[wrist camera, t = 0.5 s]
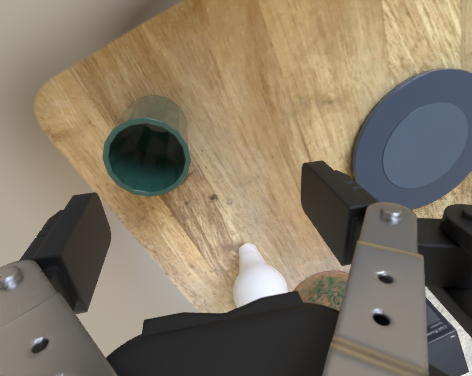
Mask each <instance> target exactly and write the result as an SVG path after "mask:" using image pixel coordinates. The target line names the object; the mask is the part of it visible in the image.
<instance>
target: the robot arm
mask: <svg viewBox="0 0 472 376" xmlns="http://www.w3.org/2000/svg"><path fill="white" fill-rule="evenodd" d="M301 204H302V208H303V210H304V212H305V213H306V215H307V216H308V218H309V219H310V221H311V222H312V224H313V225H314V226H315V228H316V229H317V231H318V232H319V234H320V235H321V237H322V238H323V239H324V241H325V242H326V244H327V245H328V247H329V248H330V249H331V251H332V252H333V254H334V255H335V257H336V258H337V260H338V261H339V262H340V264H341V265H342V266H344V265H349V264H351V268H350V272H349V276H348V280H347V284H346V288H345V292H344V296H343V300H342V304H341V308H340V311H338V310H336V309H334V308H331V307H328V306H324V305H320V304H316V303H308V302H303V301H302V299H301V297H300V294H299V292H298V291H292V292H287V293H282V294H277V295H271V296H266V297H261V298H259V299H257V300H254V301H252V302H250V303H248V304H245V305H243V306H241V307H238V308H236V309H234V310H232V311H229V312H227V313H221V314H219V313H186V312H184V313H178V314H172V315H167V316H162V317H157V318H153V319H146V320H144V323H143V331H142V334H141V335H139V336H137V337H135V338H133V339H131V340H129V341H127V342H126V343H125V344H123V345H121V346H120V347H119V348H117V349H116V350H114V351H113V352H112V353H111V354H110V355H108V356H107V357H106V358H105V357H104V355H103V354H102V352H101V351H100V349H99V348H98V347H97V345H96V344H95V342H94V341H93V339H92V338H91V336H90V335H89V334H88V332H87V331H86V329H85V328H84V326H83V325H82V324H81V322H80V321H79V319H78V318H77V316H76V315H75V314H79V313H84V312H87V311H88V308H89V305H90V302H91V299H92V296H93V293H94V290H95V287H96V284H97V281H98V278H99V275H100V272H101V269H102V266H103V263H104V260H105V257H106V254H107V251H108V248H109V245H110V242H111V231H110V226H109V223H108V221H107V218H106V215H105V212H104V209H103V206H102V204H101V200H100V198H99V196H98V194H97V193H95V192H94V193H87V194H80V195H74V196H73V197H72V198H71V200H70V201H69V203H68V204H67V206H66V207H65V209H64V210H60V211H59V212H57V213H56V214H55V215H54V216H52V217H51V218H49V219H48V221H47V222H46V224H45V225H44V227H43V228H42V230H41V231H40V232H39V233H38V235H37V238H35V239H34V241H33V242H32V243H31V245H30V246H29V248H28V249H27V251H26V252H25V253H24V255H23V256H22V257H21V259H20V260H19V261H16V262H12V263H10V264H7V265H5V266H2V267H0V376H450V375H448V374H447V373H445V372H443V371H442V370H440V369H438V368H436V367H435V366H433V365H431V364H430V363H428V347H427V322H426V298H425V286H426V287H427V288H428V289H429V290H430V291H431V292H432V294H433V295H434V296H435V297H436V298H437V299H438V300H439V301H440V303H441V304H442V305H443V306H444V307H445V308H446V309H447V310H448V312H449V313H450V314H451V315H452V316H453V317H454V318H455V320H456V321H457V322H458V323H459V324H460V325H461V326H462V327H463V329H464V330H465V331H466V332H467V333H468V334H469V335H470V336H471V338H472V205H466V204H454V205H450V206H448V207H446V208H445V210H444V214H443V217H442V219H430V218H417V216H416V214H415V213H414V212H413V211H412V210H410V209H409V208H407V207H405V206H402V205H400V204H396V203H390V202H379V201H378V200H377V199H376V198H375V197H373V196H372V195H371V194H370V193H369V192H367V191H366V190H365V189H364V188H362V187H361V186H360V185H359V184H358V183H355V181H354V180H353V179H352V178H351V177H350V176H348V175H347V174H344V173H342V172H340V171H337V170H335V171H334V170H333V169H332V168H331V167H329V166H328V165H327V164H326V163H325V162H324V161H315V162H308V163H304V164H303V165H302V175H301Z"/></svg>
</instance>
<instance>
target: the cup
mask: <svg viewBox="0 0 472 376" xmlns="http://www.w3.org/2000/svg"><path fill="white" fill-rule="evenodd" d="M103 161H104V164H105V167H106V170H107V173H108V174H109V176H110V177H111V178H112V179H113V180H114V181H115V182H116V183H117V185H118V186H120V187H121V188H123V189H125V190H127V191H129V192H131V193H133V194H136V195H142V196H148V197H149V196H150V197H151V196H157V195H163V194H166V193H168V192H170V191H171V190H173V189H175V188H177V187H178V186H179V185H180V184H181V182H182V181H183V180H184V179H185V177H186V176H187V174H188V170H189V166H190V162H191V158H190V146H189V134H188V126H187V121H186V117H185V115H184V113H183V111H182V110H181V109H180V107H179V106H178V105H177V104H175V103H174V102H173V101H171V100H169V99H167V98H165V97H162V96H155V95H151V96H144V97H142V98H139V99H137V100H136V101H134V102H133V103H132V104H131V105H130V106H129V107H128V109H127V110H126V111H125V113H124V114H123V116H122V117H121V119H120V120H119V121H118V123H117V124H116V126H115V127H114V129H113V130H112V132H111V133H110V135H109V136H108V138H107V139H106V141H105V143H104V150H103Z"/></svg>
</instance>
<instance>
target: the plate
mask: <svg viewBox="0 0 472 376" xmlns="http://www.w3.org/2000/svg"><path fill="white" fill-rule="evenodd" d="M352 169H353V176H354V179H355V182H356V183H358V184H359V185H360V186H361V187H362V188H364V189H365V190H366V191H367V192H369V193H370V194H371V195H372V196H373V197H375V198H376V199H377V200H378V201H379V202H390V203H396V204H400V205H402V206H405V207H407V208H409V209H410V210H411V209H415V208H419V207H422V206H425V205H427V204H430V203H432V202H434V201H436V200H438V199H439V198H441V197H443V196H444V195H446V194H447V193H449V192H450V191H451V190H453V189H454V188H455V187H456V186H457V185H459V184H460V183H461V182H462V181H463V180H464V179H465V178H466V177H467V176H468V174H469V173H470V172H471V171H472V73H470V72H468V71H464V70H460V69H451V68H441V69H434V70H429V71H426V72H423V73H420V74H417V75H415V76H413V77H411V78H409V79H407V80H405V81H404V82H402V83H401V84H399V85H398V86H396V87H395V88H394V89H393V90H391V91H390V92H389V93H388V94H387V95H386V96H385V97H384V98H383V99H382V100H380V102H379V103H378V104H377V105H376V106H375V107H374V109H373V110H372V111H371V113H370V114H369V116H368V117H367V119H366V120H365V122H364V124H363V126H362V128H361V129H360V132H359V134H358V137H357V139H356V143H355V146H354V151H353V157H352Z"/></svg>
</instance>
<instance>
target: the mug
mask: <svg viewBox="0 0 472 376" xmlns="http://www.w3.org/2000/svg"><path fill="white" fill-rule="evenodd" d="M348 276H349V274H347V273H345V272H341V271H326V272H322V273H318V274H316V275H313V276H311V277H309V278H308V279H306V280H305V281H303V282H302V283H301V284H300V285H299V286H298V287H297V288H296V289H295V290H294V291H298V292H299V294H300V297H301V299H302V301H303V302H308V303H316V304H320V305H324V306H328V307H331V308H334V309H336V310H338V311H340V308H341V304H342V300H343V296H344V292H345V288H346V284H347V280H348Z"/></svg>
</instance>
